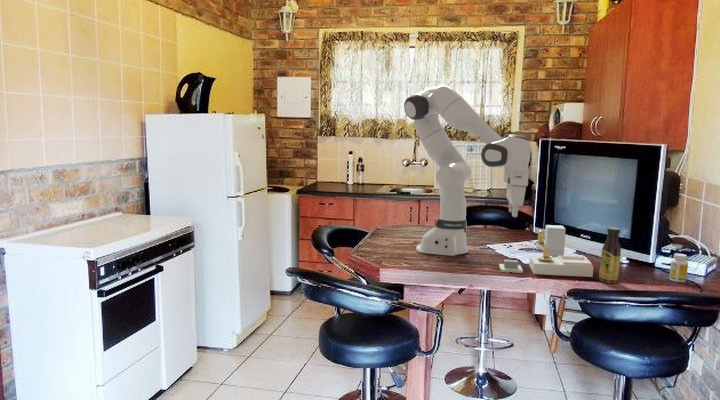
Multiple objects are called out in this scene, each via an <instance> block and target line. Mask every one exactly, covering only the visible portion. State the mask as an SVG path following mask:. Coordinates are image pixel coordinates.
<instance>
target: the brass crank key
mask: <svg viewBox="0 0 720 400" xmlns="http://www.w3.org/2000/svg"><path fill="white" fill-rule="evenodd" d="M537 233H538V234H537V247H538V248H539V249H540V250H541V251H543V254H542V256H539V257H540V260H541V261H546V262H549V261H551V258H550V257H549V249H550V247H548V246H547V245H545V244H544V241H545V229H544V230H543V229H539V230H538V232H537Z"/></svg>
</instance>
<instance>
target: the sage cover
mask: <svg viewBox="0 0 720 400" xmlns="http://www.w3.org/2000/svg"><path fill="white" fill-rule="evenodd" d="M498 268H499V270H501V271H500V272H501V273H510V272H512V273H514V274H523V272H524V270H523V268H522V266H521V264H519V261H518V260H517V259H516V260H515V259H504V260H503V263H499V264H498ZM512 273H511V274H512Z"/></svg>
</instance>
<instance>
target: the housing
mask: <svg viewBox="0 0 720 400" xmlns="http://www.w3.org/2000/svg"><path fill="white" fill-rule="evenodd" d="M540 257H541V256H531V255H530V256H529V265H528V267H529V268H530V270H531V271H532V273H533V275H546V276H548V275H549V276H550V275H551V276H566V277H584V278H585V277H586V278H587V277H588V278H593V277H594V275H593V274H594V266H593V263H592V262H591V261H590V260H589V259H588V258H587V256H579V255H578V256H577V255H564V256H559V255H558V258H556V257H550V258H551V261H549V262H546V261H541V260H540Z"/></svg>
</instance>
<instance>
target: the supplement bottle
mask: <svg viewBox="0 0 720 400" xmlns="http://www.w3.org/2000/svg"><path fill="white" fill-rule="evenodd" d="M687 259H688V256H687V254H684V253H674V254H673V259H672V260H671V261H670V269H669V276H668V277H669V281H673V282H676V283H685V282H687V277H688V270H689V269H688V268H689V262H688V261H687Z"/></svg>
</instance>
